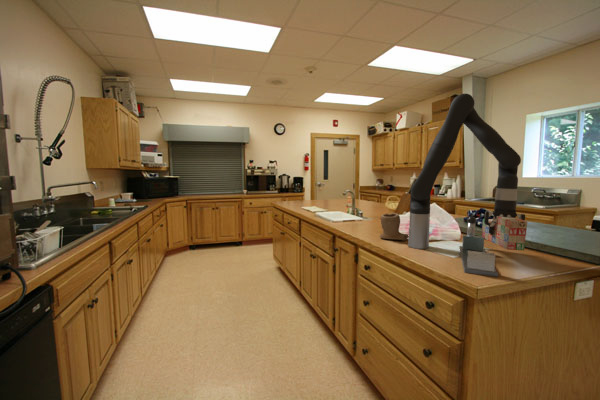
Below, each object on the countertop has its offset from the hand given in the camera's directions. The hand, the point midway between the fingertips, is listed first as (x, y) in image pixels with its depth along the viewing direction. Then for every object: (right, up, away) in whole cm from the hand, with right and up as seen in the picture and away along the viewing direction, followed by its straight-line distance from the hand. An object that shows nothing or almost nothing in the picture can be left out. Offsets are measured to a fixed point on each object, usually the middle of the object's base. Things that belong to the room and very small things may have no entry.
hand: (502, 235), depth 115 cm
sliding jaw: (-6, -7, +12) cm, 15 cm away
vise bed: (-15, -10, -5) cm, 19 cm away
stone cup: (-37, -7, +33) cm, 50 cm away
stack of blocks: (0, -4, +1) cm, 4 cm away
